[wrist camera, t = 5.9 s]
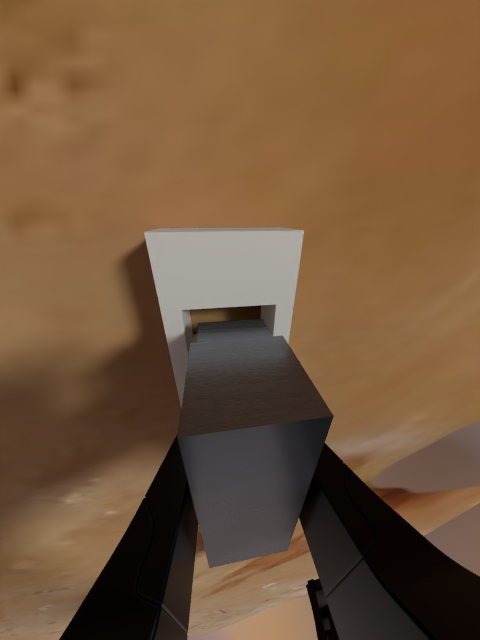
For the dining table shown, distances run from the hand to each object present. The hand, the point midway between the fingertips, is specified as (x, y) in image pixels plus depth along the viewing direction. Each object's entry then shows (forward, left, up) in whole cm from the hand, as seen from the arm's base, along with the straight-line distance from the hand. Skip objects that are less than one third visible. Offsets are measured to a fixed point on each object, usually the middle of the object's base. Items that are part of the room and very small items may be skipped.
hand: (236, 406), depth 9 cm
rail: (0, 0, -4) cm, 4 cm away
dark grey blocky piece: (0, 0, -2) cm, 2 cm away
